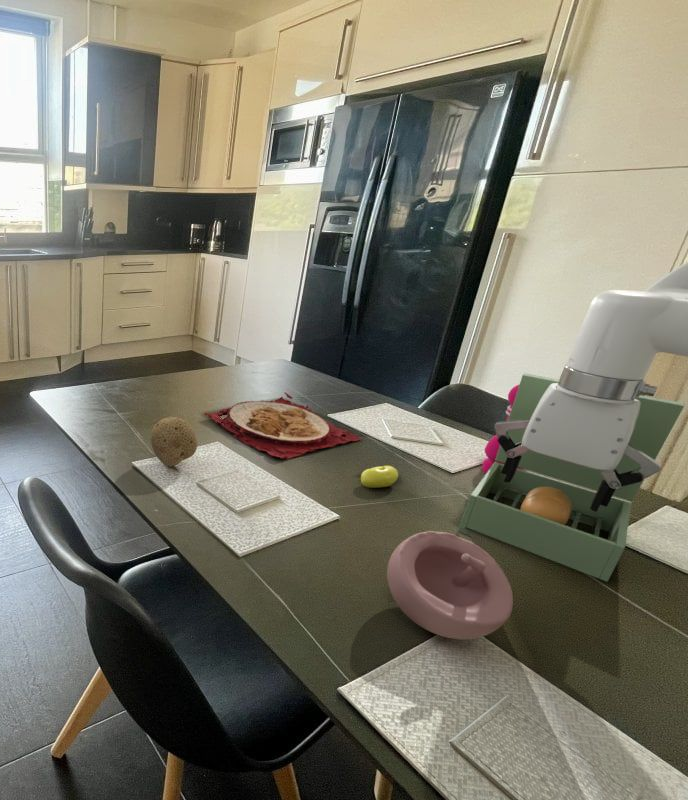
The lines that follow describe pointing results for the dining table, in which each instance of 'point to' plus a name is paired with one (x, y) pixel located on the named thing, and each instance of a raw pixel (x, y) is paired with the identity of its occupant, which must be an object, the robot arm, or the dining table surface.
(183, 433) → the natural sponge
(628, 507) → the bin
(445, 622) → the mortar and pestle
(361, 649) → the dining table surface
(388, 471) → the yellow oval piece
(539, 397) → the lid
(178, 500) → the dining table surface
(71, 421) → the dining table surface
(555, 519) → the bread roll
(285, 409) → the plate with food
